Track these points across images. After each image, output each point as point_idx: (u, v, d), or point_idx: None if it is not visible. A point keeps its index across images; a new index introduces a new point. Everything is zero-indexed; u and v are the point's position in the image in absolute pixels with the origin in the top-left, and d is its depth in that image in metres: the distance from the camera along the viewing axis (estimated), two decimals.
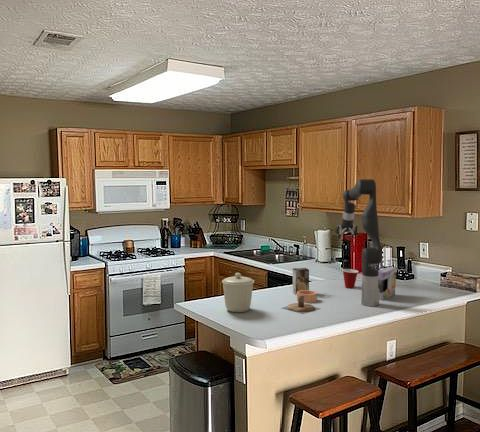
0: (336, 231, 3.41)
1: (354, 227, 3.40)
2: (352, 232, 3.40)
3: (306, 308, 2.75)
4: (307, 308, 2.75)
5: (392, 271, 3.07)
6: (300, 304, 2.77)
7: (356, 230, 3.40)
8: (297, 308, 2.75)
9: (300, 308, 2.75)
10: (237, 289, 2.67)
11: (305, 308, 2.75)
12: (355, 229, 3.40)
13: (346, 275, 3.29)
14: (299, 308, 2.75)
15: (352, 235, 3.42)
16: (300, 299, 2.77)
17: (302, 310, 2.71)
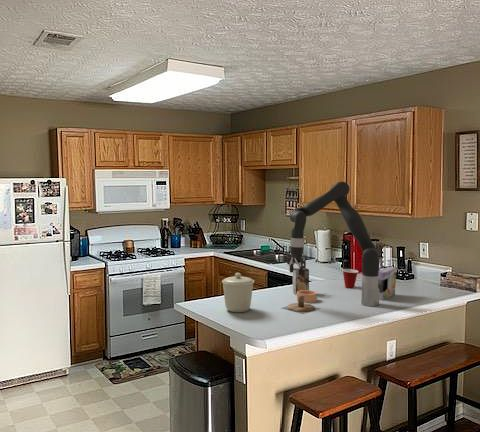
0: (303, 266, 2.78)
1: None
2: (293, 263, 2.88)
3: (306, 308, 2.75)
4: (307, 308, 2.75)
5: (392, 271, 3.07)
6: (300, 304, 2.77)
7: (291, 259, 2.90)
8: (297, 308, 2.75)
9: (300, 308, 2.75)
10: (237, 289, 2.67)
11: (305, 308, 2.75)
12: None
13: (346, 275, 3.29)
14: (299, 308, 2.75)
15: None
16: (300, 299, 2.77)
17: (302, 310, 2.71)
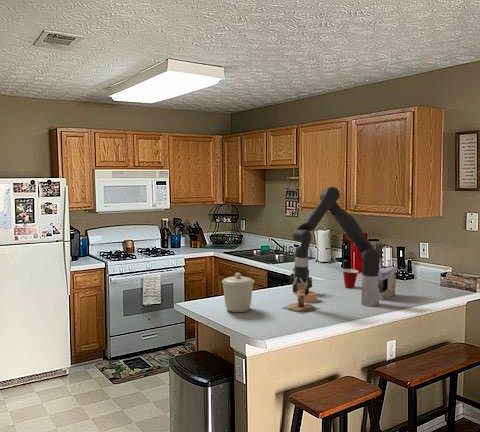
0: (310, 286, 2.73)
1: None
2: (296, 282, 2.82)
3: (306, 308, 2.75)
4: (307, 308, 2.75)
5: (392, 271, 3.07)
6: (300, 304, 2.77)
7: None
8: (297, 308, 2.75)
9: (300, 308, 2.75)
10: (237, 289, 2.67)
11: (305, 308, 2.75)
12: (294, 278, 2.83)
13: (346, 275, 3.29)
14: (299, 308, 2.75)
15: None
16: (300, 299, 2.77)
17: (302, 310, 2.71)
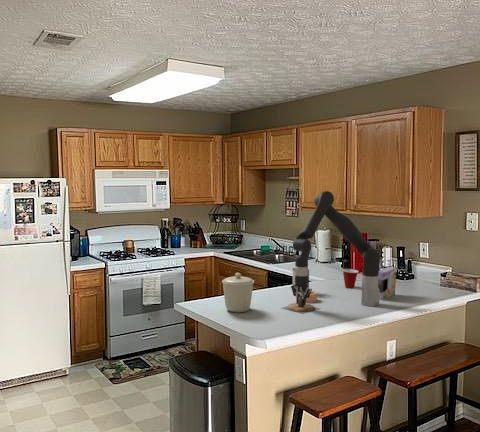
0: (307, 296, 2.75)
1: (295, 287, 2.81)
2: (299, 293, 2.80)
3: (306, 308, 2.75)
4: (307, 308, 2.75)
5: (392, 271, 3.07)
6: (300, 304, 2.77)
7: (295, 290, 2.82)
8: (297, 308, 2.75)
9: (300, 308, 2.75)
10: (237, 289, 2.67)
11: (305, 308, 2.75)
12: (296, 289, 2.82)
13: (346, 275, 3.29)
14: (299, 308, 2.75)
15: None
16: (300, 299, 2.77)
17: (302, 310, 2.71)
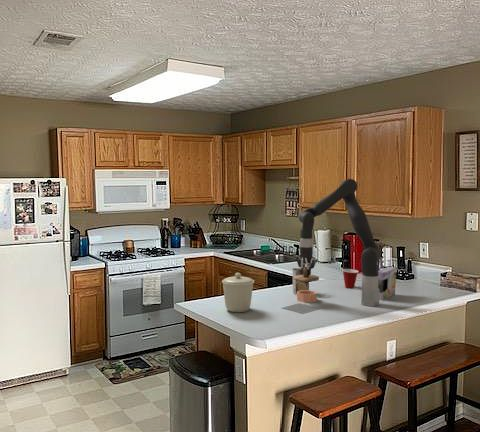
0: (312, 266, 2.87)
1: None
2: (304, 265, 2.92)
3: (311, 278, 2.87)
4: (312, 278, 2.87)
5: (392, 271, 3.07)
6: (305, 274, 2.89)
7: (300, 262, 2.94)
8: (303, 278, 2.86)
9: (305, 278, 2.86)
10: (237, 289, 2.67)
11: (310, 278, 2.86)
12: (301, 260, 2.94)
13: (346, 275, 3.29)
14: (304, 278, 2.86)
15: None
16: (305, 270, 2.88)
17: (308, 279, 2.83)
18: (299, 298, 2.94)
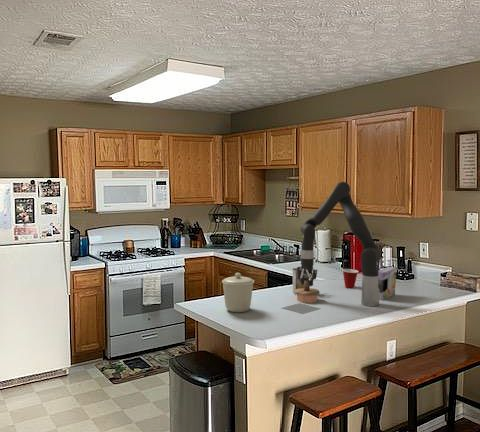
0: (314, 277, 2.92)
1: None
2: None
3: (312, 292, 2.93)
4: (313, 292, 2.93)
5: (392, 271, 3.07)
6: (306, 288, 2.95)
7: None
8: (303, 292, 2.93)
9: (306, 292, 2.93)
10: (237, 289, 2.67)
11: (311, 292, 2.93)
12: (301, 270, 3.01)
13: (346, 275, 3.29)
14: (305, 292, 2.93)
15: None
16: (306, 284, 2.95)
17: (308, 294, 2.90)
18: (299, 298, 2.94)
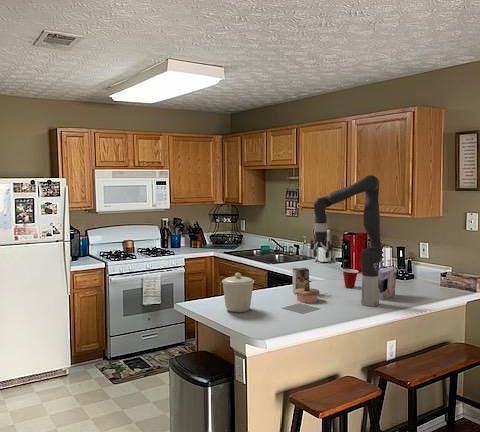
0: (330, 249, 2.94)
1: (314, 242, 3.03)
2: None
3: (312, 292, 2.93)
4: (313, 292, 2.93)
5: (392, 271, 3.07)
6: (306, 288, 2.95)
7: None
8: (303, 292, 2.93)
9: (306, 292, 2.93)
10: (237, 289, 2.67)
11: (311, 292, 2.93)
12: (314, 243, 3.04)
13: (346, 275, 3.29)
14: (305, 292, 2.93)
15: None
16: (306, 284, 2.95)
17: (308, 294, 2.90)
18: (299, 298, 2.94)
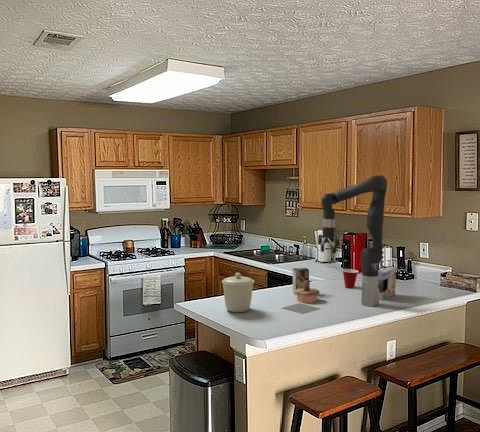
0: (337, 244, 2.97)
1: (322, 237, 3.06)
2: None
3: (312, 292, 2.93)
4: (313, 292, 2.93)
5: (392, 271, 3.07)
6: (306, 288, 2.95)
7: None
8: (303, 292, 2.93)
9: (306, 292, 2.93)
10: (237, 289, 2.67)
11: (311, 292, 2.93)
12: None
13: (346, 275, 3.29)
14: (305, 292, 2.93)
15: (323, 246, 3.06)
16: (306, 284, 2.95)
17: (308, 294, 2.90)
18: (299, 298, 2.94)
